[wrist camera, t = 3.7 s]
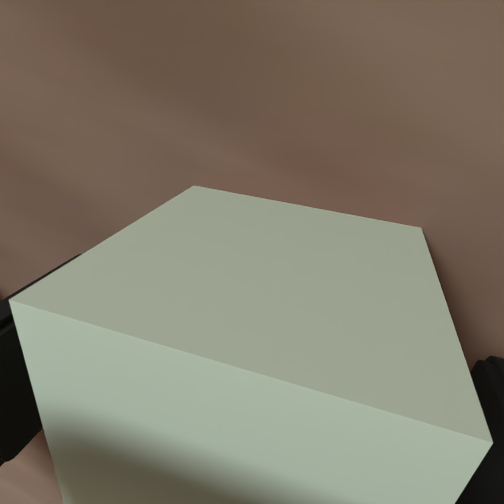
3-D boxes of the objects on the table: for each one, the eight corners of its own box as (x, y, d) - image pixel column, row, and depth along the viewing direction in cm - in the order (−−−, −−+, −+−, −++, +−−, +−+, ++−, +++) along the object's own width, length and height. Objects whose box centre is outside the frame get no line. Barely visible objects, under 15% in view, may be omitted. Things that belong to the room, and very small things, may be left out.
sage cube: (420, 226, 9) (493, 443, 4) (362, 397, 12) (357, 658, 6) (194, 184, 10) (8, 299, 5) (191, 347, 13) (70, 531, 8)
